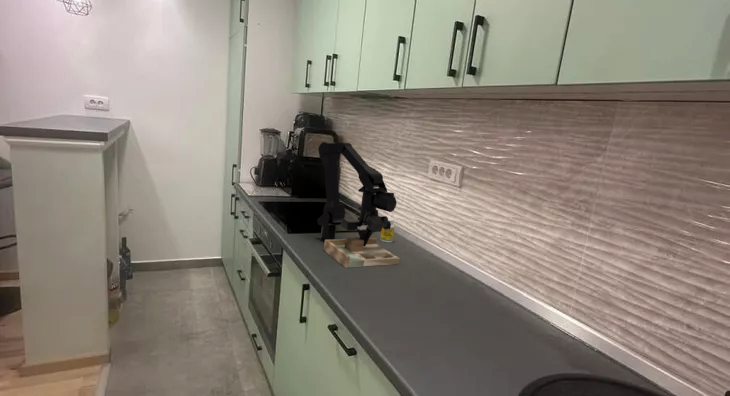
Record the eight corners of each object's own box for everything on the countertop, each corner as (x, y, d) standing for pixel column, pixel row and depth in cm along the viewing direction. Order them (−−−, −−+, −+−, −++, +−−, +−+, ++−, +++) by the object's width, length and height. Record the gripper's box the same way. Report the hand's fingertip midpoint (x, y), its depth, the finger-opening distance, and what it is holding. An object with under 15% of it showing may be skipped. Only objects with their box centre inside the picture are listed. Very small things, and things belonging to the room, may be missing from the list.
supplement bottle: (390, 239, 177) (394, 218, 175) (393, 243, 172) (396, 221, 170) (378, 238, 176) (382, 217, 174) (381, 242, 171) (384, 220, 169)
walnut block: (344, 247, 150) (345, 237, 150) (355, 246, 153) (357, 236, 152) (350, 251, 146) (352, 241, 145) (362, 251, 149) (363, 240, 148)
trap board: (323, 250, 150) (324, 239, 150) (373, 247, 162) (375, 238, 161) (345, 267, 135) (346, 256, 135) (399, 263, 146) (400, 253, 146)
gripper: (357, 211, 137) (352, 254, 140) (402, 211, 147) (396, 251, 150) (342, 203, 147) (337, 244, 149) (385, 203, 156) (380, 242, 159)
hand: (363, 246), depth 152 cm, fingers closed
